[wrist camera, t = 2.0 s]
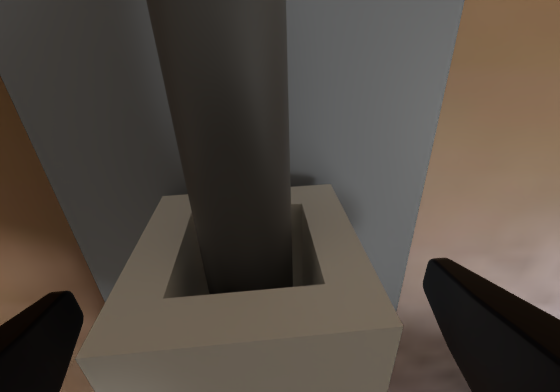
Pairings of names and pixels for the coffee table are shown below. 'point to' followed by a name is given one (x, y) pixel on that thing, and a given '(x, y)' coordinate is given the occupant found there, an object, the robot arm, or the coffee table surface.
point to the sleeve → (246, 314)
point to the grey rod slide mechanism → (231, 120)
